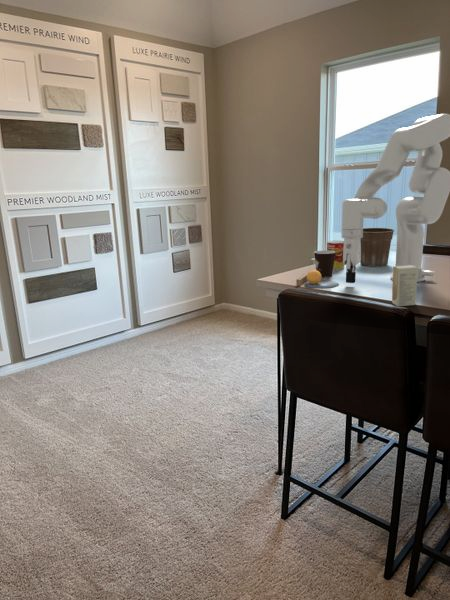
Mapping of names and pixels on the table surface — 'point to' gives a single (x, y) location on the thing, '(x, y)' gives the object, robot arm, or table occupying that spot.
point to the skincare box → (404, 285)
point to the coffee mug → (324, 262)
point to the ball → (314, 277)
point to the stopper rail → (301, 280)
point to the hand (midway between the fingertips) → (350, 282)
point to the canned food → (337, 253)
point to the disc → (322, 284)
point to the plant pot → (375, 246)
